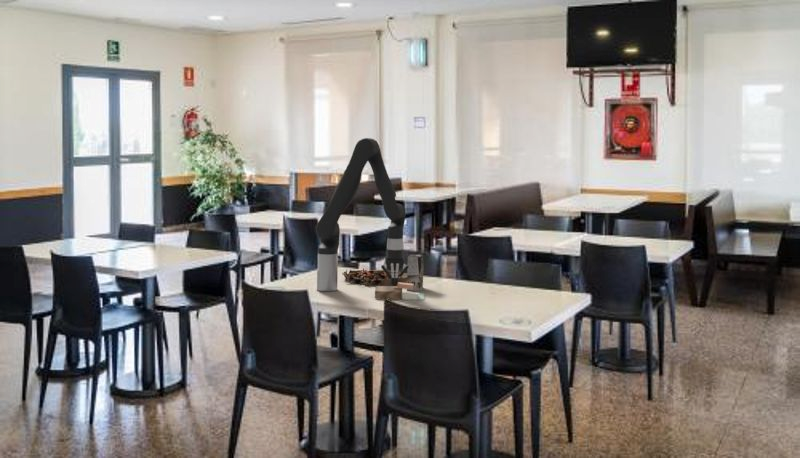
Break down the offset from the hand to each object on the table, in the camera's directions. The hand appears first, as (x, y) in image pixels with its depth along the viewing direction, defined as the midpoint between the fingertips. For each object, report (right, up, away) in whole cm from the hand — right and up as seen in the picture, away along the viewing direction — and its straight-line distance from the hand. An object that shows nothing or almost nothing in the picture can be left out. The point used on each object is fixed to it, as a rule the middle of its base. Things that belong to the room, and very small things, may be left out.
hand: (394, 285), depth 378 cm
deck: (-3, -5, -2) cm, 6 cm away
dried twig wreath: (-9, -1, +35) cm, 37 cm away
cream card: (+7, -5, -7) cm, 11 cm away
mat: (+9, -5, -3) cm, 10 cm away
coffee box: (+10, -3, +16) cm, 19 cm away
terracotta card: (+5, -1, 0) cm, 5 cm away
